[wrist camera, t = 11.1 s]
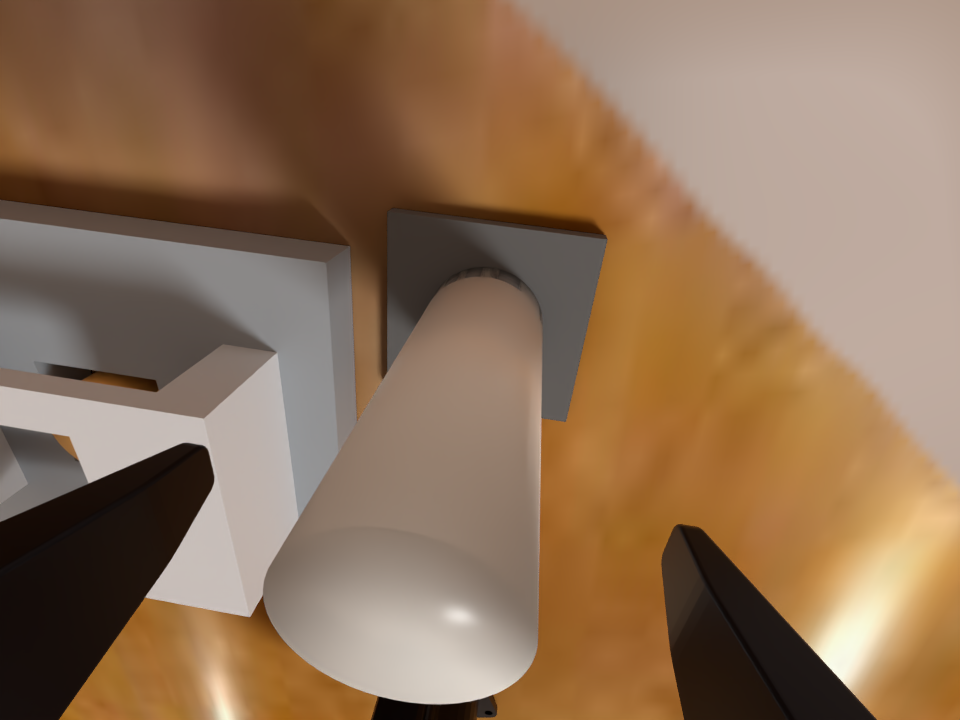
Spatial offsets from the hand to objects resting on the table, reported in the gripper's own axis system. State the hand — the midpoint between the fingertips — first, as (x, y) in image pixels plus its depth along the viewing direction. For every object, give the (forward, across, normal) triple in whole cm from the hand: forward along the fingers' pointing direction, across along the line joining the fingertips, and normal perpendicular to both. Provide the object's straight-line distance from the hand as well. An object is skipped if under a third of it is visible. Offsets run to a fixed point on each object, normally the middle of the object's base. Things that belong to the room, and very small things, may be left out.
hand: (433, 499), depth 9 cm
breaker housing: (+9, +14, +6) cm, 18 cm away
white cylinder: (+8, 0, 0) cm, 9 cm away
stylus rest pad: (+9, 0, 0) cm, 9 cm away
